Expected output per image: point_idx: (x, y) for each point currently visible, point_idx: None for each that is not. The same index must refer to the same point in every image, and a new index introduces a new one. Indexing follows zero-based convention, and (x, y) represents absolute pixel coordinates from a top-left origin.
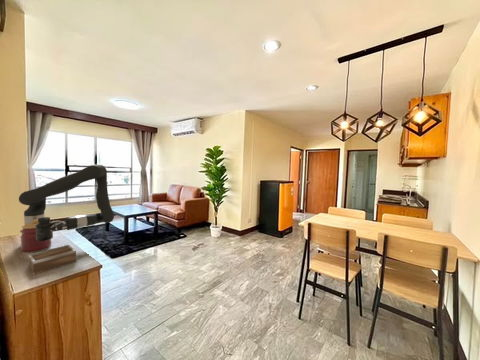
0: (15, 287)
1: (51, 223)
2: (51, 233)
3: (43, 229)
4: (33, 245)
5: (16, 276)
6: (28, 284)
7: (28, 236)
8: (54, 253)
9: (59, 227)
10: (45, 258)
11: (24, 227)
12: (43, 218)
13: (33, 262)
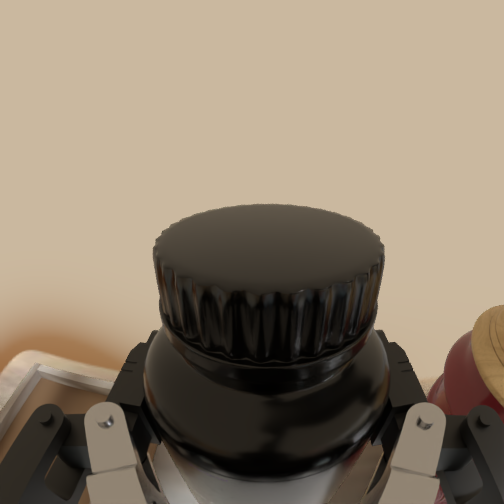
0: (41, 353)
1: (180, 430)
2: (193, 494)
3: (133, 356)
4: None
5: (103, 377)
6: (22, 368)
7: (438, 386)
8: (51, 464)
9: (12, 474)
10: (17, 393)
11: (488, 311)
12: (243, 226)
13: (35, 364)
